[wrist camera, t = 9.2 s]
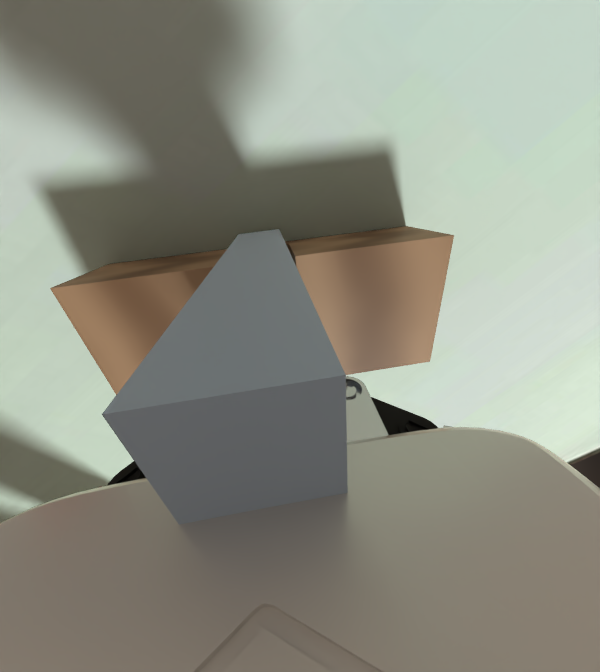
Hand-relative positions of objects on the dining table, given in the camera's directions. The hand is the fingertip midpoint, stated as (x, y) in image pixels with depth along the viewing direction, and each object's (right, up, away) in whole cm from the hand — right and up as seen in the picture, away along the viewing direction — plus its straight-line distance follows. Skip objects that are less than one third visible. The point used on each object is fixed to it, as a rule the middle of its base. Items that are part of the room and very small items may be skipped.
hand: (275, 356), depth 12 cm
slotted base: (-1, +4, +7) cm, 8 cm away
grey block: (-1, +3, +5) cm, 6 cm away
